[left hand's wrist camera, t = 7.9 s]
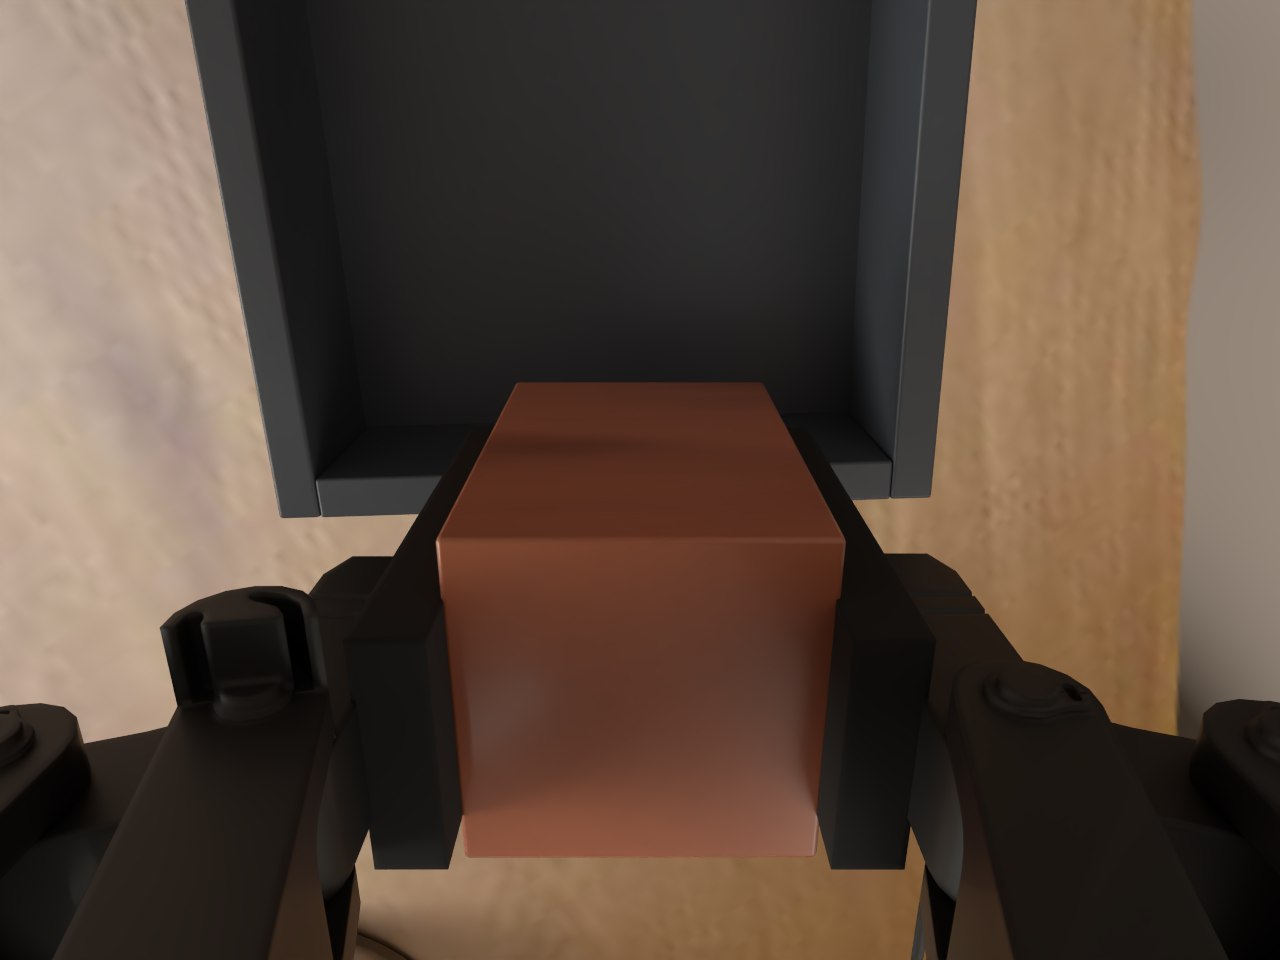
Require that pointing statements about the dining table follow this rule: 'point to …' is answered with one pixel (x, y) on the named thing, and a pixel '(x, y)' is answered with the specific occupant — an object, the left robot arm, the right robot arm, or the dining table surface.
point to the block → (640, 625)
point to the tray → (584, 218)
